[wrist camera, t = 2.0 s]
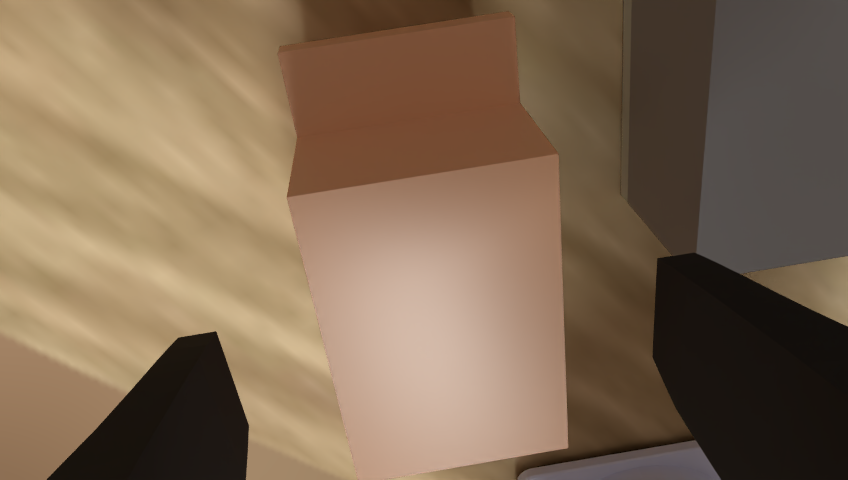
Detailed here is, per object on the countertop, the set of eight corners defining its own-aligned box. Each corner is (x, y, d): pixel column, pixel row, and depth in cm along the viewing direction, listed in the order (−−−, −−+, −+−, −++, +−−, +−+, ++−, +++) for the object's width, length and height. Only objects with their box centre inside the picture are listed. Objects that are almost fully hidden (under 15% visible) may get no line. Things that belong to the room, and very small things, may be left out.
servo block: (500, 305, 20) (569, 502, 14) (363, 328, 20) (372, 536, 13) (471, -21, 15) (554, 51, 9) (295, 5, 15) (261, 96, 9)
